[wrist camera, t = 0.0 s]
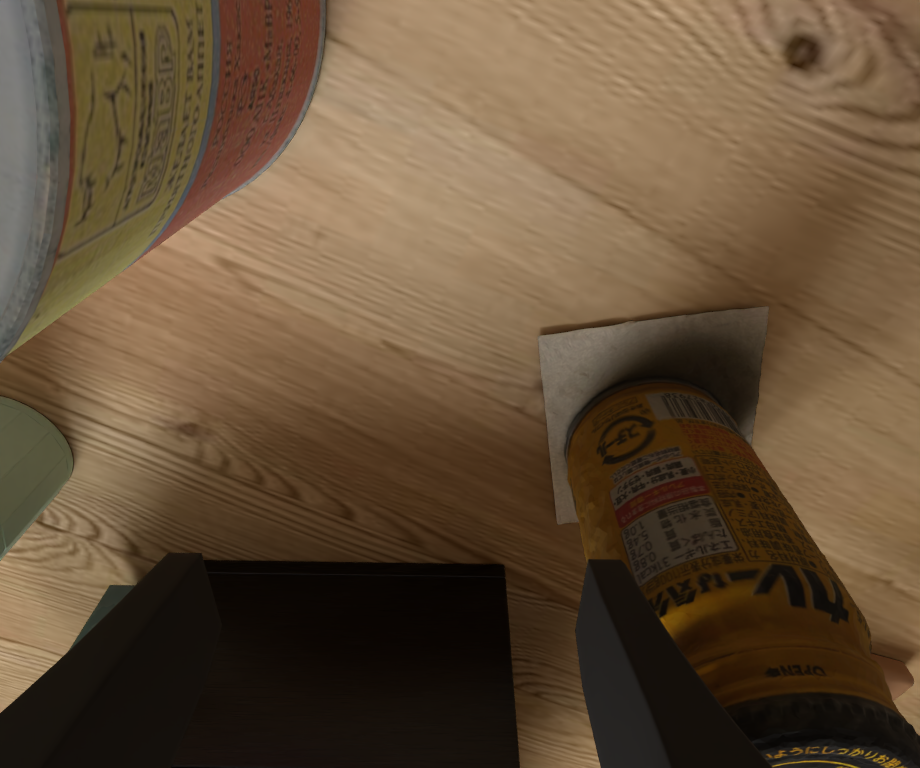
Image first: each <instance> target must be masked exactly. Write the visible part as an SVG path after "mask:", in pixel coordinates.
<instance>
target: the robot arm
mask: <svg viewBox="0 0 920 768" xmlns="http://www.w3.org/2000/svg"><path fill="white" fill-rule="evenodd" d="M221 628H222V623H221V619H220V616H219V612H218V609H217V605H216V602H215V598H214V595H213V592H212V588H211V585H210V581H209V578H208V574H207V571H206V567H205V564H204V560H203V557H202V553H168V554H167V555H166V556H165V557H164V558H163V559H162V560H161V561H160V562H159V563H158V564H157V565H155V566H154V567H153V568H152V569H151V570H150V571H149V572H148V573H147V574H146V575H145V576H144V577H143V578H142V579H141V580H140V581H139V582H138V583H137V585H136V586H135V587H134V588H133V589H132V590H131V591H130V592H129V593H128V594H127V595H126V596H125V597H124V598H123V599H122V600H121V601H120V602H119V603H118V604H117V605H116V606H115V607H114V608H113V609H112V610H111V611H110V612H109V613H108V614H107V615H106V616H105V617H104V618H103V619H102V620H101V621H99V622H98V623H97V624H96V625H95V626H94V627H93V628H92V629H91V630H90V631H89V632H88V633H87V634H86V635H85V636H84V637H83V638H82V639H81V640H80V641H79V642H78V643H77V644H76V645H75V646H74V647H73V648H72V649H70V650H69V651H68V652H67V653H66V654H65V655H64V656H63V657H62V658H61V659H60V660H59V661H58V662H57V663H56V664H55V665H54V666H52V667H51V668H50V669H49V670H48V671H47V672H46V673H45V674H44V675H42V676H41V677H40V678H39V679H38V680H37V681H36V682H35V683H34V684H32V685H31V686H30V687H29V688H28V689H27V690H26V691H25V692H24V693H22V694H21V695H20V696H19V697H18V698H17V699H16V700H15V701H14V702H12V703H11V704H10V705H9V706H8V707H7V708H6V709H4V710H3V711H2V712H1V713H0V768H171V766H172V764H173V761H174V759H175V756H176V754H177V752H178V749H179V747H180V744H181V742H182V740H183V737H184V735H185V732H186V730H187V728H188V725H189V723H190V720H191V718H192V715H193V713H194V710H195V708H196V706H197V703H198V701H199V698H200V696H201V693H202V691H203V688H204V686H205V683H206V681H207V677H208V674H209V670H210V667H211V664H212V660H213V657H214V653H215V650H216V646H217V642H218V639H219V635H220V631H221ZM575 632H576V640H577V649H578V657H579V665H580V673H581V681H582V687H583V692H584V696H585V701H586V705H587V710H588V714H589V718H590V723H591V727H592V731H593V736H594V740H595V744H596V749H597V753H598V757H599V761H600V766H601V768H773V767H772V765H771V764H770V763H769V762H768V761H767V760H766V759H765V757H764V756H763V755H762V754H761V753H760V752H759V751H758V749H757V748H756V747H755V746H754V745H753V743H752V742H751V741H750V740H749V739H748V737H747V736H746V735H745V734H744V733H743V731H742V730H741V729H740V728H739V726H738V725H737V724H736V723H735V722H734V720H733V719H732V718H731V717H730V715H729V714H728V713H727V711H726V710H725V709H724V708H723V706H722V705H721V704H720V703H719V701H718V700H717V699H716V697H715V696H714V695H713V694H712V692H711V691H710V690H709V688H708V687H707V686H706V684H705V683H704V682H703V680H702V679H701V678H700V676H699V675H698V674H697V672H696V671H695V669H694V668H693V667H692V665H691V664H690V662H689V661H688V660H687V658H686V657H685V655H684V654H683V653H682V651H681V650H680V648H679V647H678V646H677V644H676V643H675V641H674V640H673V638H672V637H671V635H670V634H669V632H668V631H667V630H666V628H665V627H664V625H663V624H662V622H661V620H660V619H659V617H658V616H657V614H656V613H655V611H654V610H653V608H652V607H651V605H650V604H649V602H648V600H647V599H646V597H645V596H644V594H643V592H642V591H641V589H640V588H639V586H638V584H637V583H636V581H635V579H634V578H633V576H632V574H631V573H630V571H629V569H628V568H627V566H626V564H625V563H624V562H623V561H622V560H616V559H588V562H587V568H586V573H585V579H584V585H583V590H582V596H581V601H580V607H579V612H578V618H577V624H576V629H575Z"/></svg>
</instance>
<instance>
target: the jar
mask: <svg viewBox="0 0 920 768" xmlns="http://www.w3.org/2000/svg"><path fill="white" fill-rule="evenodd" d="M72 469H73V457H72V453H71V450H70V447H69V445H68V443H67V441H66V439H65V438H64V436H63V435H62V434H61V432H60V431H59V430H58V429H57V428H56V427H55V426H54V425H53V424H52V423H51V422H50V421H49V420H48V419H47V418H45V417H44V416H43V415H41V414H40V413H38V412H37V411H35V410H34V409H32V408H30V407H28V406H26V405H24V404H22V403H20V402H18V401H15V400H12V399H9V398H6V397H2V396H0V561H1V559H2V558H3V557H4V556H5V555H6V554H7V552H8V551H9V550H10V549H11V548H12V547H13V546H14V544H15V543H16V542H17V541H18V540H19V539H20V537H21V536H22V535H23V534H24V533H25V532H26V530H27V529H28V528H29V527H30V526H31V525H32V523H33V522H34V521H35V520H36V519H37V518H38V516H39V515H40V514H41V513H42V512H43V511H44V509H45V508H46V507H47V506H48V505H49V504H50V502H51V501H52V500H53V499H54V498H55V497H56V495H57V494H58V493H59V491H60V490H61V488H62V487H63V486H64V485H65V483H66V482H67V481H68V479H69V478H70V476H71V473H72Z"/></svg>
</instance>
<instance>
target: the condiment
mask: <svg viewBox="0 0 920 768" xmlns="http://www.w3.org/2000/svg"><path fill="white" fill-rule="evenodd" d="M768 312H769V306H766V307H756V308H748V309H743V310H742V309H731V310H725V311H716V312H708V313H701V314H695V315H681V316H674V317H667V318H660V319H653V320H646V321H639V322H636V321H628V322H626V323H623V324H618V325H613V326H608V327H600V328H589V329H580V330H575V331H571V332H565V333H558V334H551V335H543V336H538V346H539V355H540V365H541V375H542V384H543V393H544V402H545V412H546V422H547V432H548V442H549V452H550V462H551V471H552V481H553V490H554V500H555V509H556V518H557V525H560V524H565V523H573V522H579V527H580V532H581V539H582V544H583V549H584V555H585V558H586V564H587V562H588V559H616V560H622V561H623V562H624V563H625V564H626V566H627V568H628V569H629V571H630V573H631V574H632V576H633V578H634V579H635V581H636V583H637V584H638V586H639V588H640V589H641V591H642V592H643V594H644V596H645V597H646V599H647V600H648V602H649V604H650V605H651V607H652V608H653V610H654V611H655V613H656V614H657V616H658V617H659V619H660V620H661V622H662V624H663V625H664V627H665V628H666V630H667V631H668V632H669V634H670V635H671V637H672V638H673V640H674V641H675V643H676V644H677V646H678V647H679V648H680V650H681V651H682V653H683V654H684V655H685V657H686V658H687V660H688V661H689V662H690V664H691V665H692V667H693V668H694V669H695V671H696V672H697V674H698V675H699V676H700V678H701V679H702V680H703V682H704V683H705V684H706V686H707V687H708V688H709V690H710V691H711V692H712V694H713V695H714V696H715V697H716V699H717V700H718V701H719V703H720V704H721V705H722V706H723V708H724V709H725V710H726V711H727V713H728V714H729V715H730V717H731V718H732V719H733V720H734V722H735V723H736V724H737V725H738V726H739V728H740V729H741V730H742V731H743V733H744V734H745V735H746V736H747V737H748V739H749V740H750V741H751V742H752V743H753V745H754V746H755V747H756V748H757V749H758V751H759V752H760V753H761V754H762V755H763V756H764V757H765V759H766V760H767V761H768V762H769V763H770V764H771V765H772V767H773V768H920V736H919V735H918V734H917V733H916V732H915V730H914V728H913V726H912V725H911V724H909V723H908V722H907V721H906V719H905V718H904V717H903V716H902V715H901V713H900V712H899V711H898V709H897V708H896V706H895V704H894V703H893V701H892V695H891V692H890V689H889V687H888V685H887V683H886V680H885V675H884V672H883V669H882V667H881V666H880V665H879V664H878V663H877V662H876V661H875V660H872V659H871V648H872V645H871V634H870V630H869V627H868V625H867V623H866V620H865V618H864V616H863V614H862V613H861V611H860V610H859V608H858V607H857V605H856V604H855V602H854V600H853V599H852V597H851V596H850V594H849V593H848V591H847V590H846V588H845V586H844V585H843V583H842V582H841V581H840V579H839V578H838V576H837V575H836V573H835V572H834V570H833V569H832V567H831V566H830V565H829V563H828V561H827V560H826V558H825V556H824V555H823V554H822V553H821V551H820V550H819V548H818V547H817V545H816V544H815V542H814V541H813V539H812V538H811V536H810V535H809V533H808V532H807V530H806V529H805V527H804V525H803V524H802V522H801V521H800V520H799V518H798V516H797V515H796V513H795V512H794V510H793V508H792V506H791V505H790V504H789V503H788V501H787V499H786V498H785V497H784V495H783V494H782V492H781V491H780V490H779V488H778V486H777V484H776V483H775V481H774V480H773V479H772V477H771V476H770V474H769V473H768V471H767V470H766V468H765V467H764V465H763V464H762V462H761V461H760V459H759V458H758V457H757V455H756V453H755V452H754V450H753V449H752V447H751V441H752V435H753V424H754V420H755V414H756V406H757V403H758V398H759V381H760V376H761V363H762V355H763V348H764V344H765V338H766V334H767V320H768Z"/></svg>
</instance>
